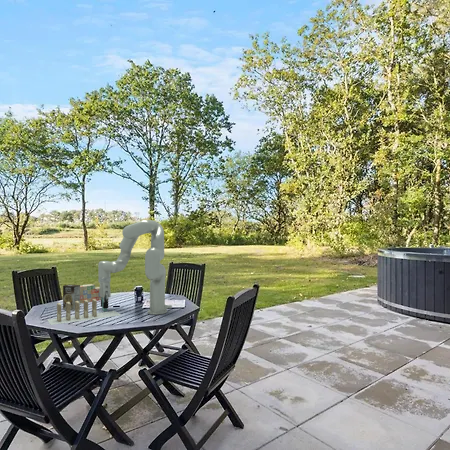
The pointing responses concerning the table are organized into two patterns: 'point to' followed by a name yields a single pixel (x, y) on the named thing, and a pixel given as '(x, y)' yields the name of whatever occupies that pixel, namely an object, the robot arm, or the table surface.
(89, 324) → the table surface
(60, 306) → the tile
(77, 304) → the tile
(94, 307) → the tile
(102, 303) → the tile
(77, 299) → the coffee box
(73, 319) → the mat
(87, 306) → the tile
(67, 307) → the tile
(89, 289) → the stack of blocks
